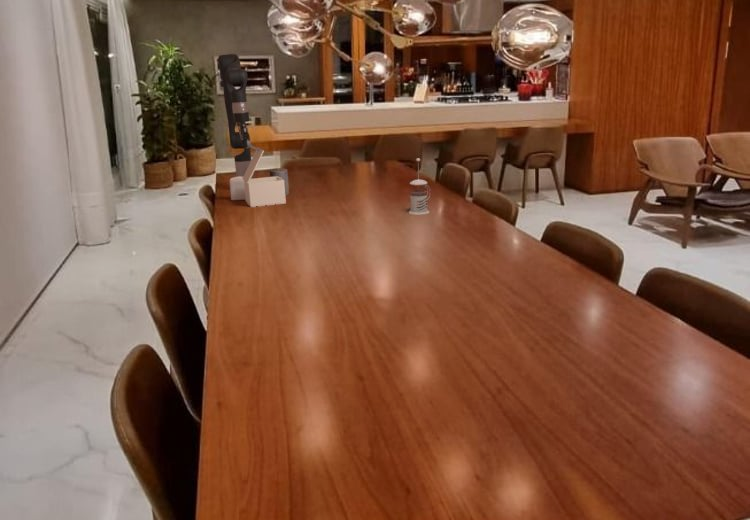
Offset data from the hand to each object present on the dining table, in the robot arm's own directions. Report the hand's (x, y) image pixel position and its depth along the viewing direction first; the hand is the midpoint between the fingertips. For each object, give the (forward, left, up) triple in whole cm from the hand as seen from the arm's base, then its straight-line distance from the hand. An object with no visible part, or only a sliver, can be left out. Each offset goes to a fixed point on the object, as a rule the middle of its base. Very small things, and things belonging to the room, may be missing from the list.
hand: (245, 147), depth 318 cm
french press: (+60, +68, -30) cm, 95 cm away
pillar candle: (-18, +20, -30) cm, 40 cm away
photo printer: (-16, -2, -30) cm, 34 cm away
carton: (0, +8, -29) cm, 30 cm away
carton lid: (0, +4, -9) cm, 10 cm away
